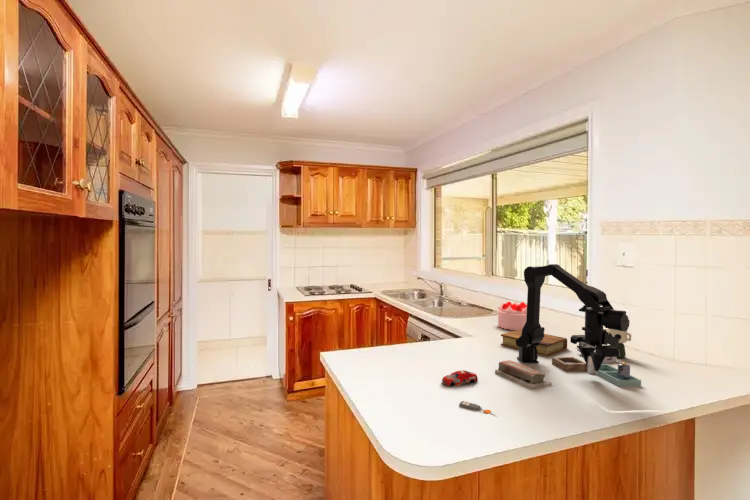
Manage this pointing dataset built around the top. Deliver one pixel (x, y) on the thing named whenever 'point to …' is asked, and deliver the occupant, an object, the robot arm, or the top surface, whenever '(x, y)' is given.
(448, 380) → the race car
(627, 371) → the dark cell
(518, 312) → the cake
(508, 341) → the diary
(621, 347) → the mug head figurine
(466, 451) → the top surface
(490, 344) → the top surface
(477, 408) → the key chain
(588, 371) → the steel cell
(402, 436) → the top surface
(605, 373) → the trough tray
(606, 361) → the charger
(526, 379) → the packaged product
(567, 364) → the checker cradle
